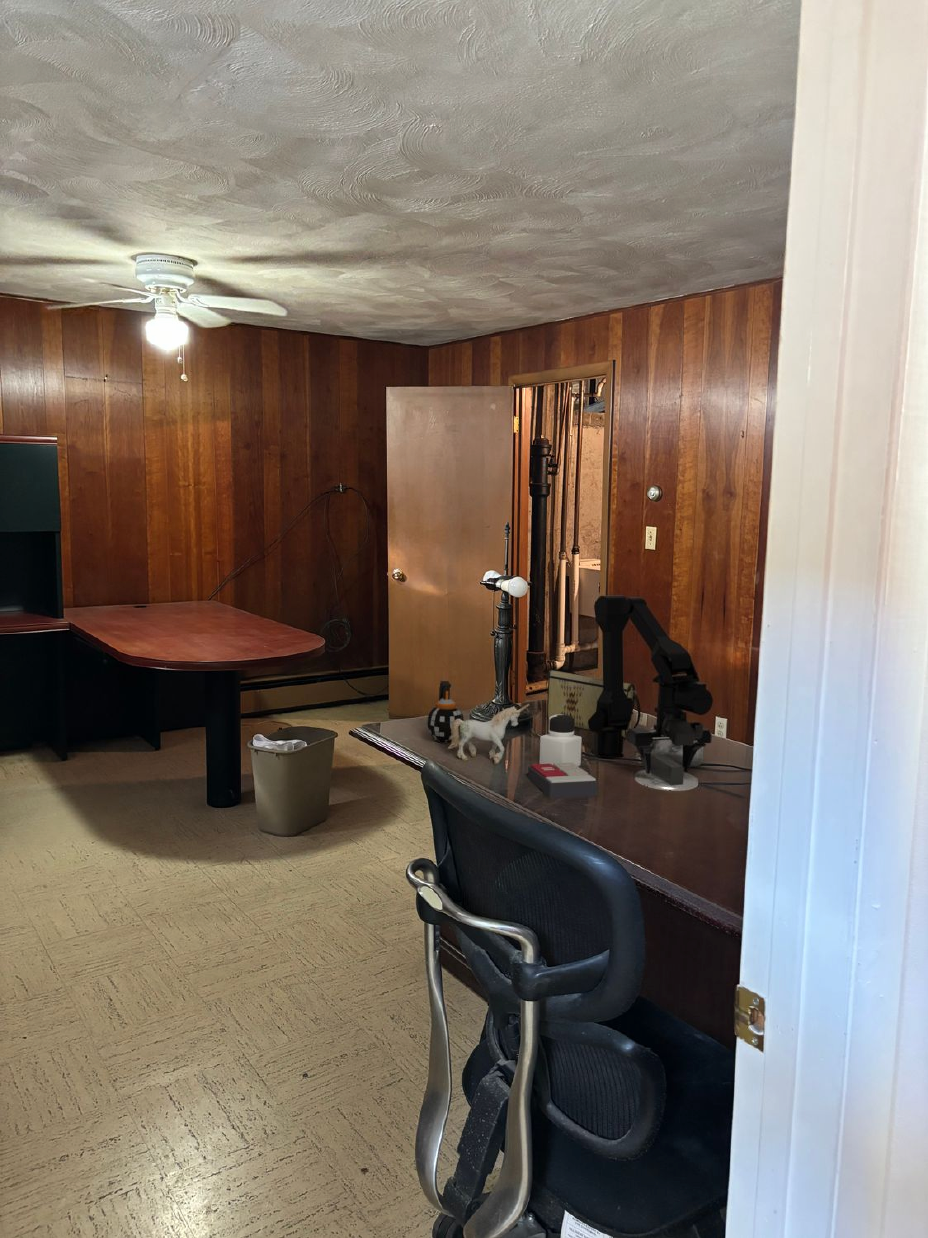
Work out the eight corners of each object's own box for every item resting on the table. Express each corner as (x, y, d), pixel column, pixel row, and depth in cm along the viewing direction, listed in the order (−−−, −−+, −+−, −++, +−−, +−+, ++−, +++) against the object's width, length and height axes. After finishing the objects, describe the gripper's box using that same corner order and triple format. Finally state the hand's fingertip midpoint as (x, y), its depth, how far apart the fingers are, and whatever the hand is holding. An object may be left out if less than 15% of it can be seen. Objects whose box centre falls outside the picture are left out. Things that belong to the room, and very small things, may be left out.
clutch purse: (644, 736, 240) (647, 682, 238) (631, 741, 235) (634, 685, 233) (553, 717, 259) (555, 666, 257) (539, 721, 254) (541, 669, 252)
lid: (709, 790, 197) (711, 768, 196) (651, 794, 193) (652, 771, 193) (679, 771, 210) (680, 750, 210) (624, 774, 207) (625, 753, 206)
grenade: (423, 734, 235) (425, 679, 233) (459, 734, 237) (460, 678, 235) (429, 746, 224) (430, 688, 222) (466, 745, 226) (468, 687, 224)
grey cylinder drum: (662, 768, 211) (664, 739, 210) (639, 753, 223) (640, 726, 222) (712, 766, 214) (714, 737, 213) (686, 751, 226) (687, 724, 225)
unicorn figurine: (529, 766, 210) (531, 710, 208) (446, 764, 210) (448, 708, 208) (527, 757, 217) (529, 703, 215) (447, 755, 217) (448, 701, 215)
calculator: (573, 760, 204) (599, 777, 189) (573, 779, 204) (598, 797, 190) (527, 763, 201) (550, 780, 187) (527, 781, 201) (549, 800, 187)
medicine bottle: (581, 765, 211) (583, 716, 210) (562, 772, 206) (565, 721, 205) (556, 759, 216) (558, 711, 215) (538, 765, 211) (540, 715, 209)
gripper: (648, 715, 189) (644, 786, 191) (726, 712, 194) (722, 781, 196) (626, 703, 200) (622, 770, 202) (701, 700, 205) (697, 766, 207)
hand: (666, 772), depth 201 cm, fingers open, 9 cm apart
